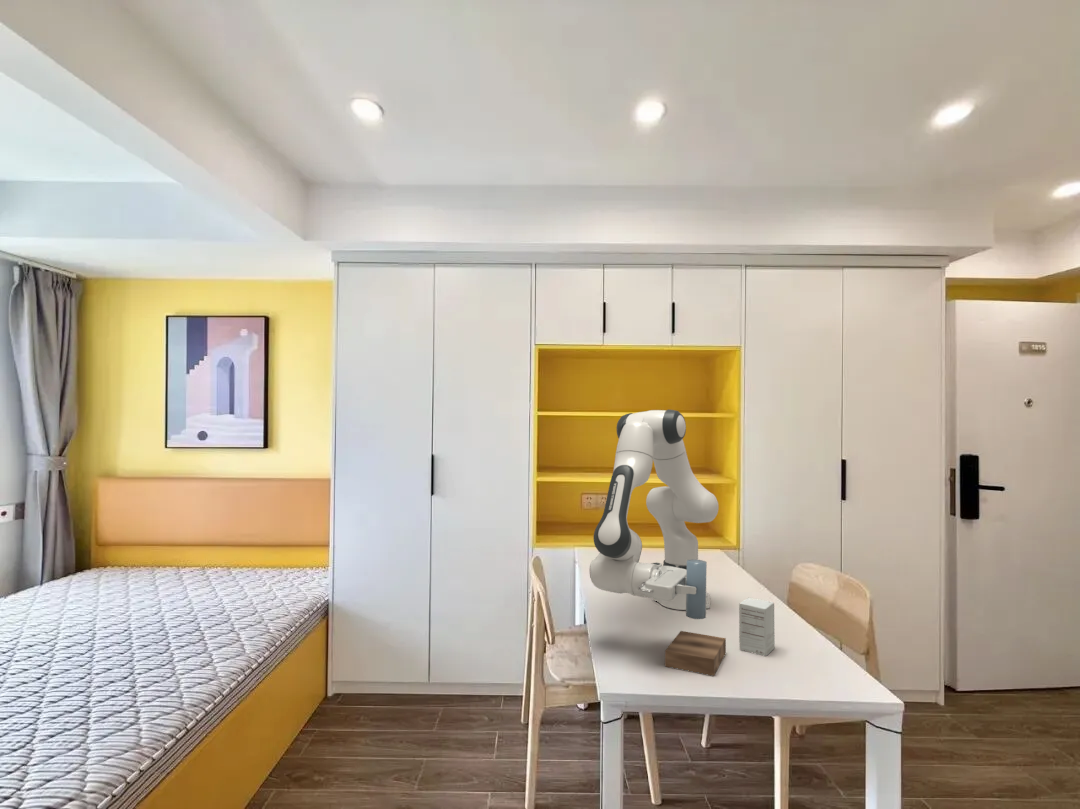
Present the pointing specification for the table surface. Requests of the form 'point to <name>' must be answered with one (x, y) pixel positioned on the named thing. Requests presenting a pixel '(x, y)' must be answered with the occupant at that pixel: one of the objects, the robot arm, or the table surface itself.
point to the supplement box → (756, 626)
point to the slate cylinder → (698, 579)
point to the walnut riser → (695, 652)
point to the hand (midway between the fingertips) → (699, 587)
